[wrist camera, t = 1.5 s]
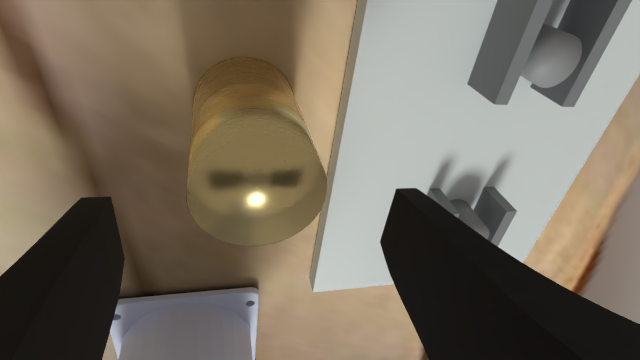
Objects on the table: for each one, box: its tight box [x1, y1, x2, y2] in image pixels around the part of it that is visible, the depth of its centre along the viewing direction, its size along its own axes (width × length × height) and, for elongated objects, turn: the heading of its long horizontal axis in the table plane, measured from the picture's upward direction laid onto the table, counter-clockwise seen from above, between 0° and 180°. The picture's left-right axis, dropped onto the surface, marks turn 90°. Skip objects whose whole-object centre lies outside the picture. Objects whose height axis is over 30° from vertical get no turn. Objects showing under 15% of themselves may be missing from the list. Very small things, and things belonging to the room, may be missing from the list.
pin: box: [186, 57, 327, 246], centre depth 14 cm, size 4×4×6 cm
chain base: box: [309, 0, 640, 292], centre depth 18 cm, size 20×14×3 cm
